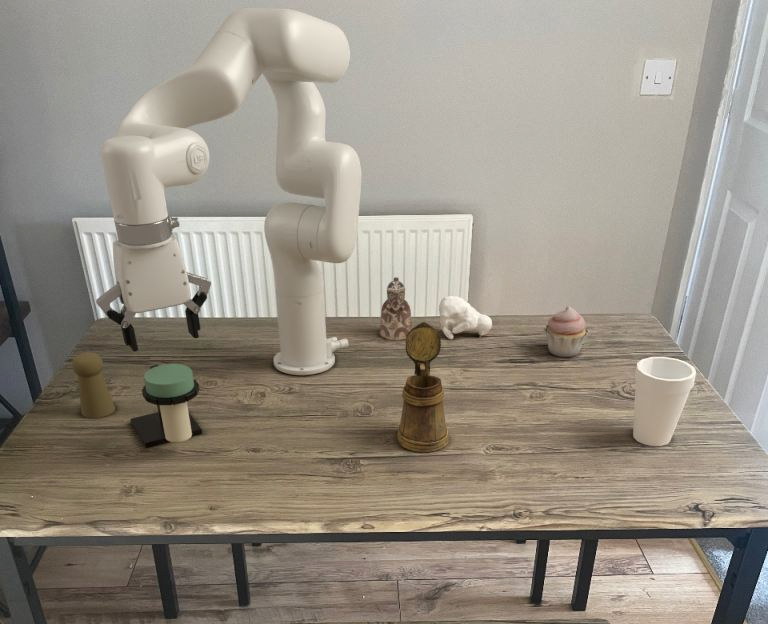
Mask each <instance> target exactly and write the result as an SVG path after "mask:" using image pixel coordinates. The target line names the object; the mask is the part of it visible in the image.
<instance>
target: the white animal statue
mask: <svg viewBox="0 0 768 624" xmlns="http://www.w3.org/2000/svg"><path fill="white" fill-rule="evenodd" d="M438 314H439V320H438V321H439V325H440V328H441V330H442V332H443V334H444V335H445V337H446V338H448V340H454V334H460V333H462V332H465V331H472V330H474V331H477V334H478V335H479V338H481V337H482V336H486V335H487V333H488V332H489V331H491V329H492V327H493V321H492V318H491V317H490V316H488V315H486V314H483V313H480V312H479V311H478V310H476V309H475V307H473V306H471V304H470V303H469V302H467V301H466V300H465V299H464V298H462V297H460V296H456V295H447V296H445V297H442V299H441V300H440V302H439V305H438ZM453 325H455V327H453Z"/></svg>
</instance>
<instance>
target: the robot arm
mask: <svg viewBox="0 0 768 624" xmlns="http://www.w3.org/2000/svg"><path fill="white" fill-rule="evenodd" d="M350 60H351V48H350V44H349V41H348V38H347V36H346V35H345V32H344V31H343V30H342V29H341V28H340V27H339V26H338V25H336V24H334V23H332V22H329V21H326V20H324V19H321V18H319V17H315V16H314V15H311V14H308V13H305V12H302V11H299V10H296V9H292V8H284V7H279V8H278V7H255V6H254V7H242V8H238V9H235V10H234V11H233V12H231V13H230V14H229V15H228V16H227V17H226V18H225V20H224V21H223V23H222V24H221V25H220V27H218V30H217V31H216V32H215V34H214V35H213V36H212V38H211V39H210V41H209V42H208V43H207V45H206V46H205V47H204V49H203V50H202V51H201V53H200V54H199V55H198V57H197V58H196V60H195V61H194V63H192V65H191V66H189V67H188V68H186V69H184V70H182V71H180V72H178V73H176V74H174V75H173V76H172V77H169V78H168V79H166V80H165V81H163V82H161V83H159V84H158V85H156V86H154V87H153V88H151V89H150V90H148V91H147V92H145V93H144V94H142V95H141V97H139V98H138V99H137V100H136V101H135V103H133V105H132V106H131V108H130V109H129V110H128V111H127V113H126V114H125V116H124V117H123V118H122V120H121V121H120V122H119V124H118V126H117V128H116V130H115V133H114V135H113V137H111V138H108V139H106V140H105V141H104V142H103V143H102V144H101V146H100V157H101V163H102V167H103V172H104V176H105V177H104V178H105V182H106V187H107V192H108V197H109V202H110V206H111V211H112V217H113V222H114V227H115V231H116V236H117V240H115V241H114V242H112V258H113V268H114V278H115V284H114V285H112V287H110V288H109V289H108V290H107V291H105V292H104V293H103V294H102V295H100V296H99V297H98V298H96V299H95V303H96V305H97V306H98V307H99V309H101V311H102V312H103V313H104V314H105V315H106V316H107V318H108V319H109V320H111V321H112V322H114V323H116V324H118V325H119V326H120V328H121V332H122V337H123V342H124V344H125V346H126V347H128V346H129V348H130V349H131V351H132V352H133V353H135V352H138V351H139V346H138V341H137V336H136V332H135V328H134V326H133V325H132V324H131V323H132V322H133V320H134V318H135V316H136V314H141V313H148V312H152V311H157V310H162V309H169V308H172V307H177V306H182V305H184V306H185V307H186V308H185V310H184V313H185V319H186V325H187V331H188V333H189V334H190V336H191V337H192V338H193V339H199V338H200V337H199V331H201V323H200V317H199V313H200V312H201V308H202V307H203V305H204V304H205V302H206V301H207V299H208V294H209V292H210V288H211V287H212V281H211V280H209V278H207V277H204V276H201V275H197V274H195V273H191V272H189V271H187V268H186V263H185V261H184V256H183V253H182V250H181V248H180V245H179V242H178V239H177V237H176V236H175V234H174V233H173V230H174V229H176V228H180V220H179V218H178V217H177V216H176V217H172V216H169V212H168V208H167V201H166V195H165V194H166V193H165V189H166V188H171V187H172V188H173V187H180V186H181V187H182V186H187V185H192V184H194V183H196V182H198V181H199V180H201V178H203V177H204V176H205V174H206V173H207V172H208V167H209V165H210V158H211V157H210V150H209V147H208V144H207V143H206V141H205V140H204V138H203V137H202V136H201V135H200V134H199V133H197V132H195V131H194V130H191V129H189V128H190V127H193V126H196V125H201V124H204V123H209V122H213V121H217V120H219V119H222V118H225V117H227V116H229V115H232V114H233V113H235V112H236V111H238V109H239V108H240V107H241V105H242V103H243V102H244V100H245V99H246V97H247V96H248V94H249V93H250V91H251V90H252V88H253V87H254V85H255V84H256V82H257V81H258V80H259V79H260V78H261V75H263V76H264V78H265V79H266V81H267V83H268V85H269V87H270V89H271V91H272V93H273V96H274V98H275V102H276V107H277V131H276V132H277V133H276V151H275V152H276V154H275V155H276V156H275V176H276V182H277V185H278V186H279V188H280V189H282V191H283V192H286V193H288V194H291V195H294V196H295V195H296V196H302V197H308V198H316V199H324V201H325V206H320V205H314V204H307V203H299V202H280V203H278V204H276V205H274V206H272V207H271V208H270V209H269V210H268V212H267V214H266V216H265V219H264V225H263V228H264V232H263V233H264V238H265V241H266V246H267V249H268V252H269V256H270V261H271V265H272V270H273V271H272V273H273V281H274V294H275V304H276V316H277V328H278V341H279V351H278V352H277V353H276V354H275V355H274V356H273V360H272V361H273V366H274V368H275V369H276V370H277V371H279V372H282V373H284V374H288V375H292V376H311V375H316V374H320V373H323V372H326V371H329V369H331V368H332V367H333V366H334V365H335V363H336V357H335V354H334V353H335V352H336V351H337V350H343V349H348V348H349V340H348V338H342V339H338V338H337V336H333V337H329V338H328V337H327V326H326V325H327V324H326V304H325V284H324V283H325V282H324V277H323V272H322V269H321V267H320V264H319V263H318V262H322V263H330V264H342V263H345V262H347V261H348V260H349V259H350V258H351V256H352V255H353V253H354V250H355V248H356V244H357V237H358V228H359V215H360V204H361V191H362V179H363V178H362V177H363V174H362V172H363V171H362V166H361V160H360V158H359V155H358V153H357V152H356V150H355V149H354V148H353V147H352V146H351V145H349V144H346V143H344V142H337V141H329V140H328V141H326V119H327V117H326V116H327V113H326V111H327V110H326V105H325V103H324V100H323V97H322V95H321V93H320V91H319V89H318V88H317V85H316V84H334V83H337V82H339V81H341V79H342V78H344V76H345V75H346V73H347V71H348V69H349V67H350ZM315 83H316V84H315ZM190 284H192V285H195V286H198V290H197V291H196V293H195V294H194V295H193V297H191V296H192V292H191V285H190ZM117 299H119V302H120V303H121V305H122V307H121V309H120V311H119V312H118V311H116V310H115V309H114V308H112V307H111V303H113V302H114V301H115V300H117Z"/></svg>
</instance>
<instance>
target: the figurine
mask: <svg viewBox="0 0 768 624" xmlns="http://www.w3.org/2000/svg"><path fill="white" fill-rule="evenodd" d="M405 295H406V286H405V285H404V284H403V282H401V281H400V280H399V277H397V276H395V277H393V280H392V281H390V282H389V283H388V285H387V287H386V297H387V298H386V300H385V301H384V302H383V303H382V306H381V308H380V309H381V311H380V322H379V327H378V329H379V330H378V331H379V332H378V333H379V336H381V337H382V338H385V339H386V340H387V341H388V340H389V341H401V340H406V338H407V335H408V333H409V332H410V331H411V330H412V329H413V322H412V309H411V306H410V304H409V303H408V301H407V300H406V299H405V298H406V297H405Z"/></svg>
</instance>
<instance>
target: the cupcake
mask: <svg viewBox="0 0 768 624" xmlns="http://www.w3.org/2000/svg"><path fill="white" fill-rule="evenodd" d="M542 329H543V332H544V334H545V337H546V341H547V342H546V343H547V348H548V351H549V353H550V354H552V355H554V356H556V357H561V358H572V357H575V356H577V355H578V354H579V353H580V351H581V348H582V346H583V343H584V341H585V339H586V338H587V336H588V334H589V332H590V330H589V329H586V321H585V319H584V318H583V316H582V315H581V314H579V313H578V312H577V311H576V309H574V308H573V307H572V306H569V305H567V306H566V308H565V309H564V310H560V311H558V312H556V313H554V315H553V316H551V317H550V318H549V319H548V321H547V324H545V328H542Z"/></svg>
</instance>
